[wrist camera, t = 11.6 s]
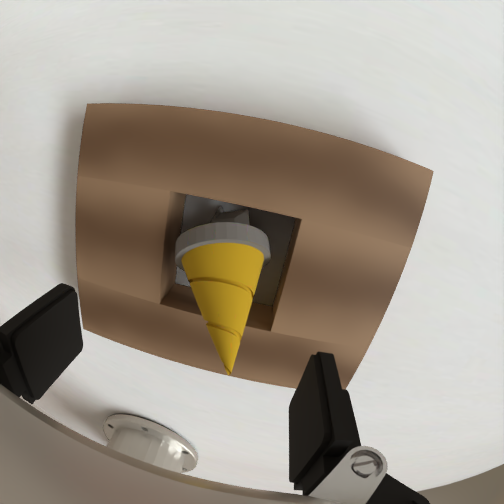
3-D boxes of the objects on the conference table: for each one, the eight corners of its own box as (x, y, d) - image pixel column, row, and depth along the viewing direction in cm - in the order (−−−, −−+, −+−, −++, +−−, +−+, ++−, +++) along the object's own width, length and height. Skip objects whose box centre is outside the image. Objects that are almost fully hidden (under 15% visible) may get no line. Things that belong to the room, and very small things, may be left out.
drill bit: (282, 200, 18) (304, 368, 13) (227, 233, 21) (235, 374, 17) (212, 164, 14) (218, 374, 10) (162, 211, 18) (158, 375, 13)
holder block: (337, 367, 21) (342, 394, 18) (101, 310, 21) (83, 328, 19) (411, 167, 15) (433, 171, 13) (112, 108, 16) (87, 103, 13)
